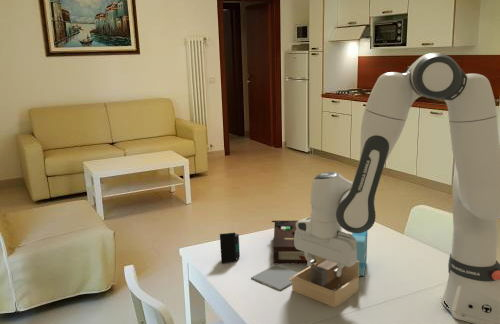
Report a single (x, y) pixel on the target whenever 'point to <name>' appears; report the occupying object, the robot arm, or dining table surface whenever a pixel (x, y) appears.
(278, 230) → the decorative book
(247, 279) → the dining table surface
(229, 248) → the speaker
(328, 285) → the box
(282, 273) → the mat
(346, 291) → the drawer
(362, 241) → the blue rounded block
